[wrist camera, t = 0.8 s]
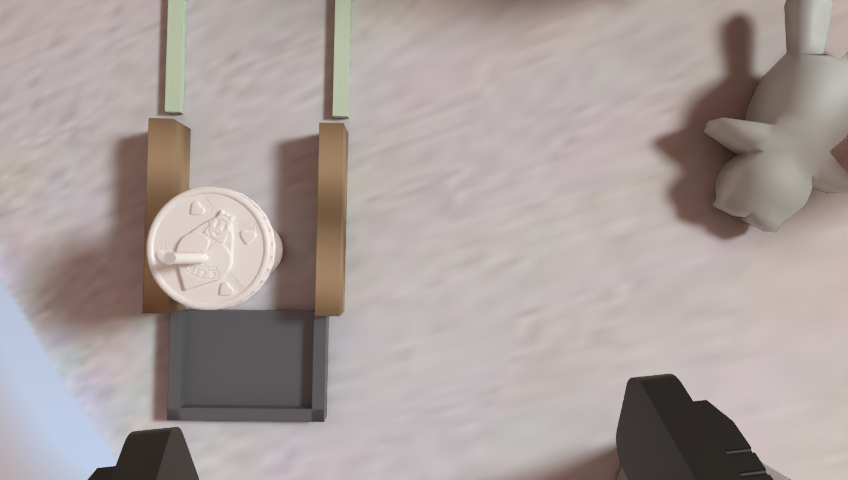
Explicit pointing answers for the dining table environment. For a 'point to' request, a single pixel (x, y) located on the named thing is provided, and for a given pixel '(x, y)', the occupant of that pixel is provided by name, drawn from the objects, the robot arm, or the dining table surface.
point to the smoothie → (212, 248)
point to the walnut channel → (173, 179)
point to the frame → (177, 57)
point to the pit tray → (247, 365)
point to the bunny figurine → (787, 127)
